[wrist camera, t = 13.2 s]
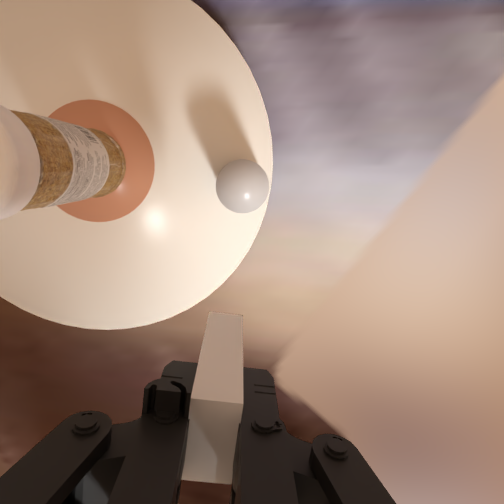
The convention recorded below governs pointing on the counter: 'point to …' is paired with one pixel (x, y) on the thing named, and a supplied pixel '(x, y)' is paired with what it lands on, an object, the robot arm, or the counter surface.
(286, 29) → the counter surface
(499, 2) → the counter surface
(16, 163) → the sprinkles bottle
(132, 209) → the disc
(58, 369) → the counter surface
